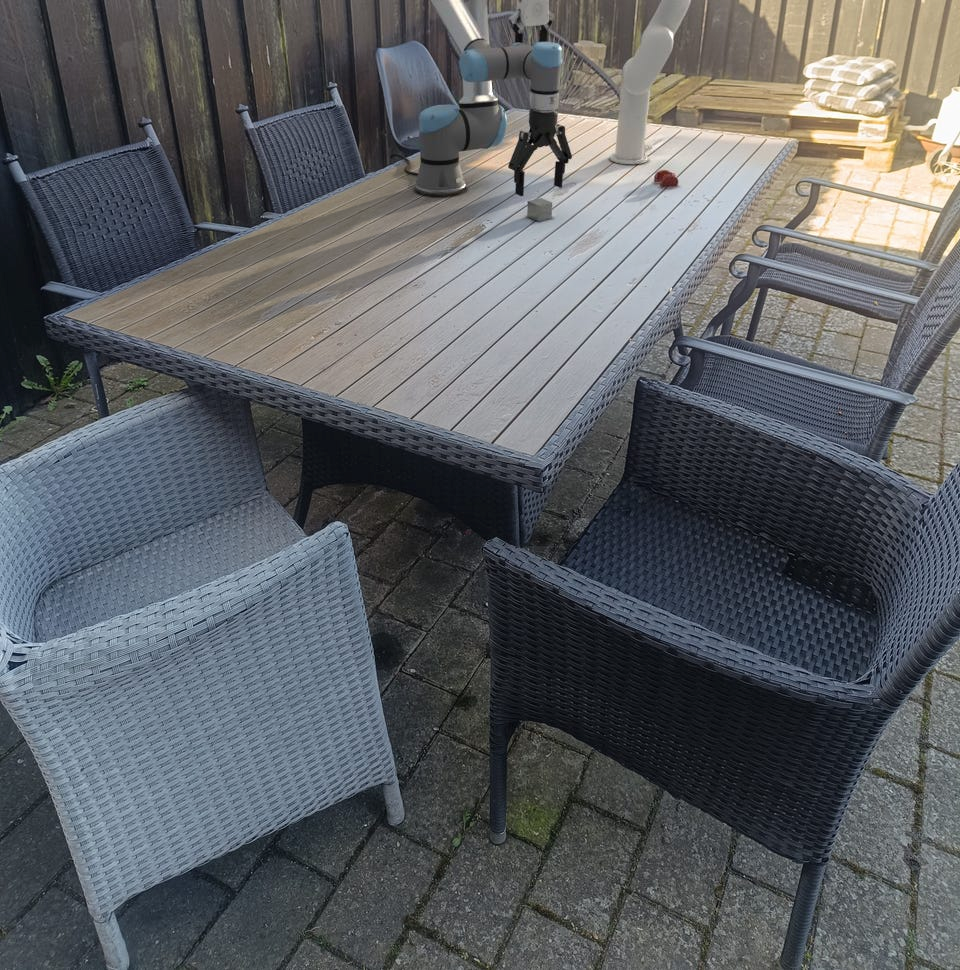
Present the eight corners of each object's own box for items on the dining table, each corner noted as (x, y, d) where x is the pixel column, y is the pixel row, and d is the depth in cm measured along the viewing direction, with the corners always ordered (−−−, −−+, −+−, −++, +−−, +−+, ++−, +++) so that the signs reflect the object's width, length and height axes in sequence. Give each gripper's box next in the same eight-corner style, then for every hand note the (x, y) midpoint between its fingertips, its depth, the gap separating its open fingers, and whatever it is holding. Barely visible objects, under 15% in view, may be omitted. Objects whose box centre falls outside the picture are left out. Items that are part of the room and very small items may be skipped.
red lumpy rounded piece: (669, 166, 264) (680, 173, 258) (668, 179, 266) (679, 187, 260) (653, 168, 263) (663, 175, 257) (652, 181, 265) (662, 189, 259)
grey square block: (538, 221, 235) (538, 205, 232) (527, 216, 238) (527, 200, 235) (551, 218, 237) (552, 202, 234) (540, 213, 240) (541, 197, 238)
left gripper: (514, 118, 213) (510, 202, 225) (589, 106, 224) (582, 186, 237) (496, 112, 217) (494, 194, 230) (571, 100, 229) (565, 179, 242)
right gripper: (517, -14, 253) (516, 49, 263) (562, -18, 261) (559, 44, 271) (503, -16, 258) (502, 46, 268) (547, -20, 266) (544, 41, 276)
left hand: (538, 190), depth 234 cm, fingers open, 13 cm apart
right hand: (531, 45), depth 269 cm, fingers open, 9 cm apart
